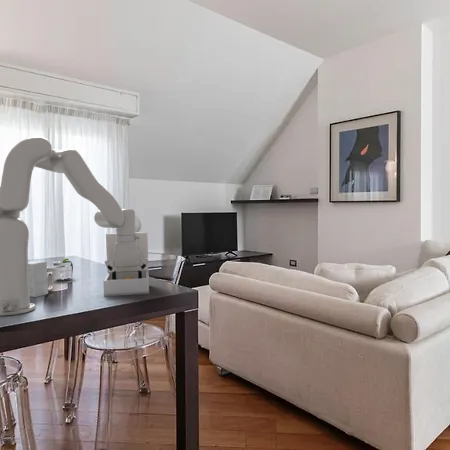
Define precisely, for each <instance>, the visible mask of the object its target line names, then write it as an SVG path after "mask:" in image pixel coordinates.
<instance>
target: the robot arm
mask: <svg viewBox="0 0 450 450" xmlns="http://www.w3.org/2000/svg"><path fill="white" fill-rule="evenodd" d="M34 168H39V169H42V170H46V171H49V172H53V173H57V174H64V175H65V177H66V178H67V180H68V182H69V183H70V184H71V186H72V188H73V189H74V190H75V192H76V193H77V194H78V195H80V197H82V198H83V199H85V200H87V201H89V202H91V203H92V204H93V205H94V206H95V207H96V208H97V209H98V210H97V212H95V214H94V216H93V218H94V219H93V220H94V222H95V224H96V225H97V226H99V227H101V228H105V229H107V228H108V229H116V230H115V233H116V238H117V243H115V246H114V257H112V258H110V259H108V260H107V259H106V260H105V261H104V265H105V267H106V268H107V270H108V269H109V270H110V271H111V272H112V280H116V271H115V270H116V269H117V267H137V268H138V269H139V271H138V279H140V278H142V270H143V269H144V268H145V267H146V265H147V263H148V264H149V258H148V259H146V258H144V257H141V256H139V247H138V242H136V240H137V239H139V236H136V235H135V232H136V214H135V213H136V212H135V210H134V209H133V208H121V206H120V204H119V202H118V201H117V200H116V199H115V197H114V196H113V195H112V193H110V192H109V191H108V190H107V189H106V188H105V187H104V186H103V185H102V184H101V183H99V181H98V180H97V179H96V177H95V175H94V174H93V173H92V171H91V170H90V168H89V167H88V165H87V163H86V162H85V160H84V158H83V157H82V155H81V154H80V153H79V151H77V150H76V149H74V148H64V149H61V150H60V149H59V150H58V149H54V148H53V147H52V144H51V142H50V140H48V139H47V138H45V137H44V136H40V135H38V136H37V135H35V136H31V137H27V138H26V139H23V140H21V141H19V142H18V143H17V144H16V145H14V146H13V148H12V149H11V150H10V151H9V152H8V154H7V156H6V158H5V161H4V165H3V168H2V170H3V171H2V175H1V183H0V316H15V315H20V314H26V313H30V312H31V311H34V310H35V309H36V304H35V303H32V302H31V297H30V292H29V270H28V262H29V240H30V239H29V237H30V232H29V227H28V225H27V224H26V223H25V221H24V220H22V219H21V218H20V213H21V212H23V211H24V210H25V209H26V208H27V207H28V205H29V201H30V189H31V183H32V182H31V180H32V177H33V176H32V174H33V171H34ZM113 260H114V267H113V268H112V267H111V266H110V265H109V263H110V262H111V261H113ZM140 260H142V261H144V264H143V265H142V266H140V265H139V262H140Z"/></svg>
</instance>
